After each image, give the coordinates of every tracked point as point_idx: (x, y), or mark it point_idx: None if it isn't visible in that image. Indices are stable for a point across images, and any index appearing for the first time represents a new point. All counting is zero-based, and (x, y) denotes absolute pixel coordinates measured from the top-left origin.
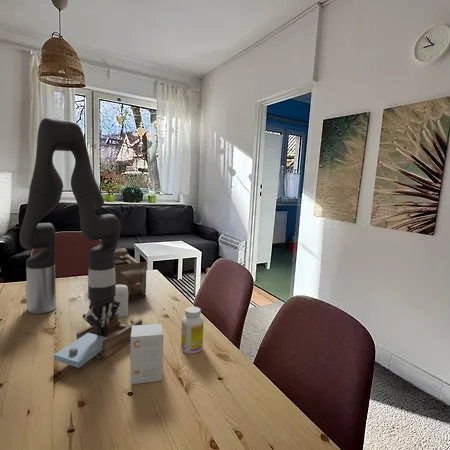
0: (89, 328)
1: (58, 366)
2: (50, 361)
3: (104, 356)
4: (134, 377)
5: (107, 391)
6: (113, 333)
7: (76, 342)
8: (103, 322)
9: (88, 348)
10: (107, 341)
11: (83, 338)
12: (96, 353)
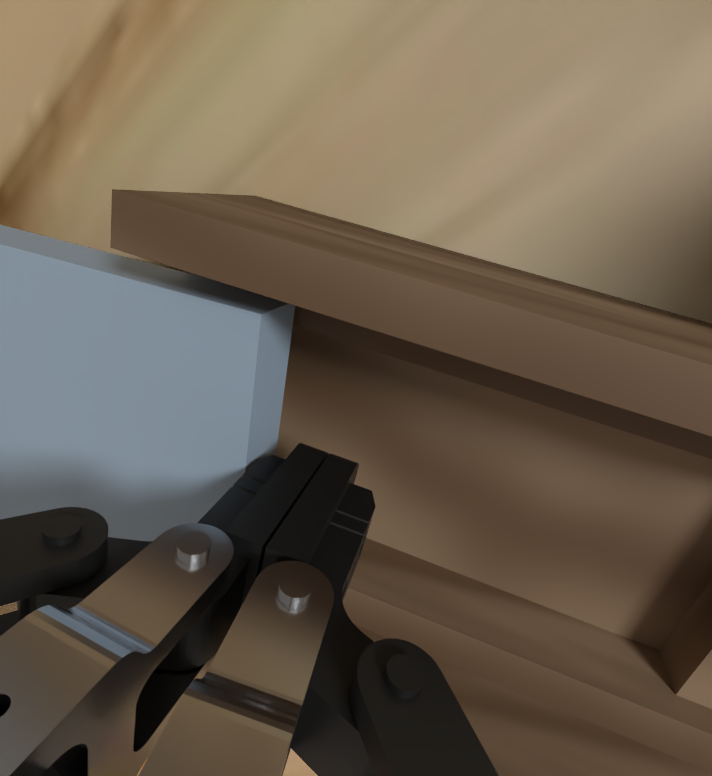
0: (308, 308)
1: (23, 206)
2: (33, 71)
3: None
4: None
5: (15, 604)
6: (633, 447)
7: (45, 298)
8: (150, 703)
9: (29, 481)
10: None
11: (132, 334)
12: None
